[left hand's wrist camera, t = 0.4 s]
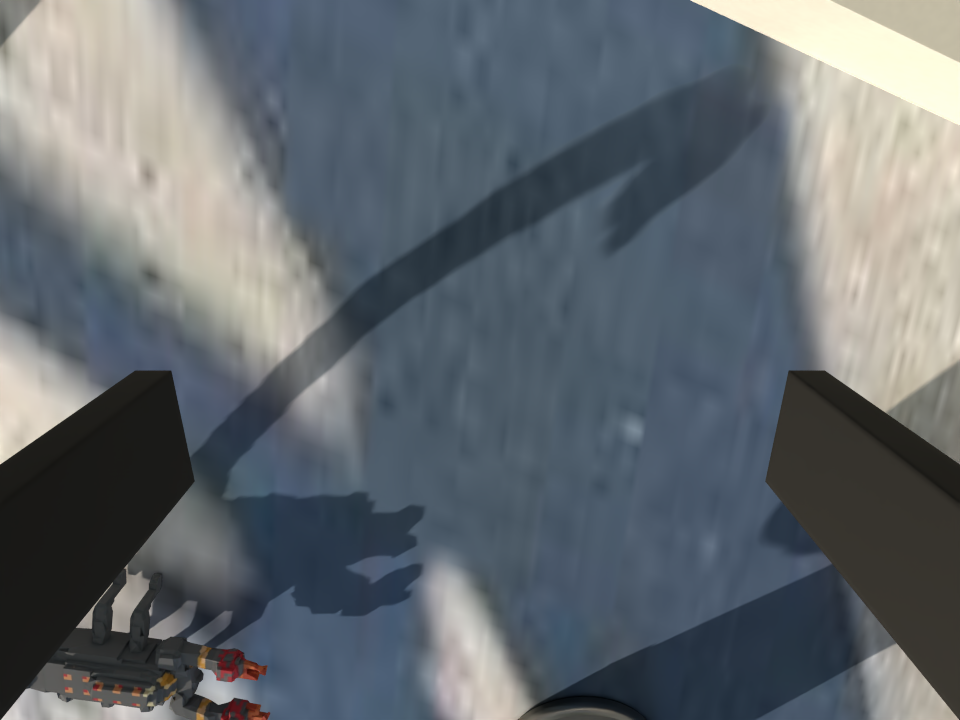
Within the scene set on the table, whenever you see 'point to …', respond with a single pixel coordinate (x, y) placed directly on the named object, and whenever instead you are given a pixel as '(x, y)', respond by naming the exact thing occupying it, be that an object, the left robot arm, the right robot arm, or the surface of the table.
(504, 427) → the table surface
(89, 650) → the toy
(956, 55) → the bar
